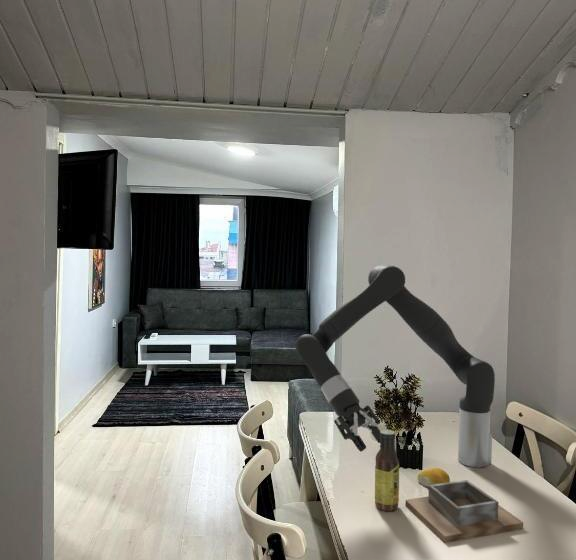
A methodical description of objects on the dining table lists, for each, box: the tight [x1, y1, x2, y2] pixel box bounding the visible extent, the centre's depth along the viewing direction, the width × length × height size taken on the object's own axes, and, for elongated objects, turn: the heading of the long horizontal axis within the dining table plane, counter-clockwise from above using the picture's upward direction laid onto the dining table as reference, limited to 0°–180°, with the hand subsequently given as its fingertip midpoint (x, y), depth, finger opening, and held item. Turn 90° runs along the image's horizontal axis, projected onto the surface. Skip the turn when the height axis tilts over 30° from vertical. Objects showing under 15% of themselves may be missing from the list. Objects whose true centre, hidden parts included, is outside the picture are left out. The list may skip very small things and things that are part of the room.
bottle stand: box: [405, 479, 524, 543], centre depth 130 cm, size 22×18×6 cm
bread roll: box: [417, 467, 451, 489], centre depth 149 cm, size 8×9×4 cm
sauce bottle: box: [374, 429, 400, 512], centre depth 135 cm, size 6×6×20 cm
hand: (373, 445), depth 137 cm, fingers open, 8 cm apart
